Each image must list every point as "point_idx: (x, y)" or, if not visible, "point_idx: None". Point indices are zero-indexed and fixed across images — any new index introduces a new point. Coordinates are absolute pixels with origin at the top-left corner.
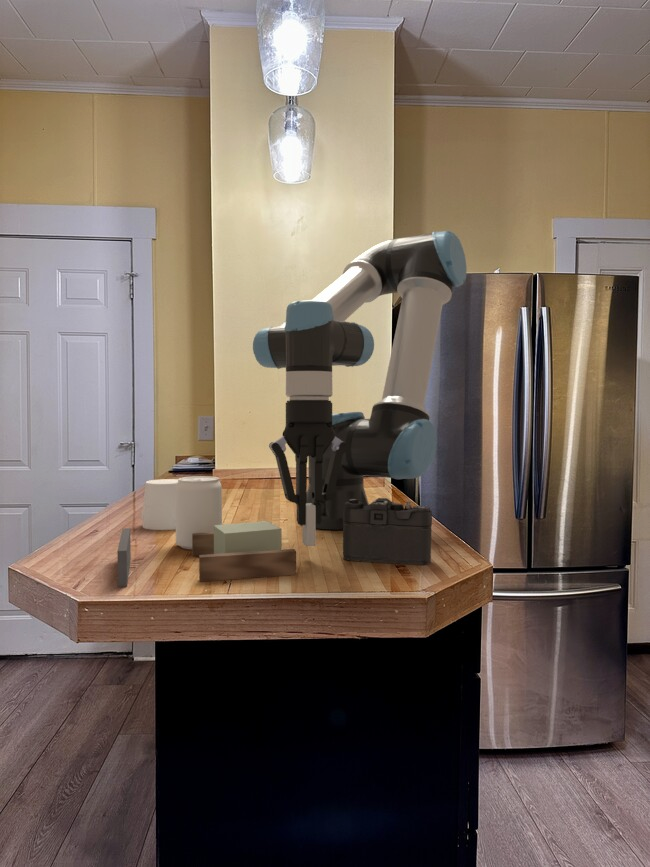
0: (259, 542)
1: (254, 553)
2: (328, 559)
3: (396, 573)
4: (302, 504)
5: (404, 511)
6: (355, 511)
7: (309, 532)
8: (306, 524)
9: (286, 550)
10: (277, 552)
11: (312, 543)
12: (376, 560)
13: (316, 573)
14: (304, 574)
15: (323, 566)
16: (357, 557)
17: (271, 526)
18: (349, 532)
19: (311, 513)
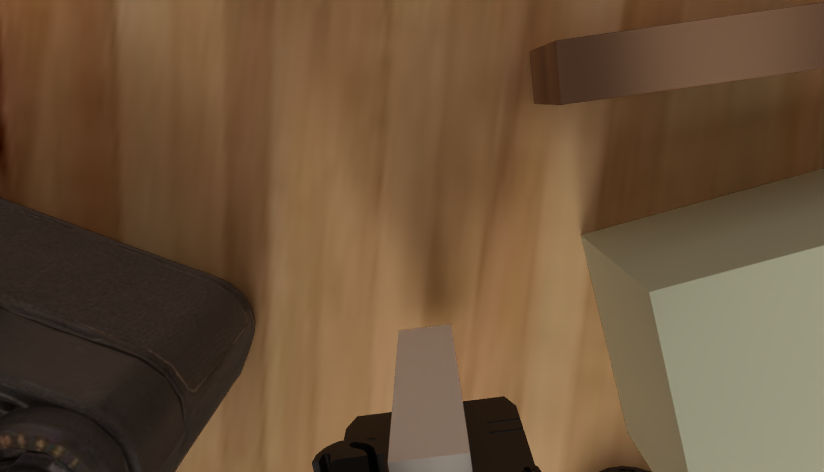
0: (767, 229)
1: (820, 13)
2: (331, 324)
3: (16, 9)
4: (508, 462)
5: None
6: (57, 382)
7: (436, 357)
8: (459, 382)
9: (613, 70)
10: (675, 25)
11: (416, 332)
12: (89, 233)
13: (424, 65)
14: (487, 54)
15: (373, 194)
16: (182, 268)
17: (707, 374)
18: (174, 334)
19: (423, 424)
